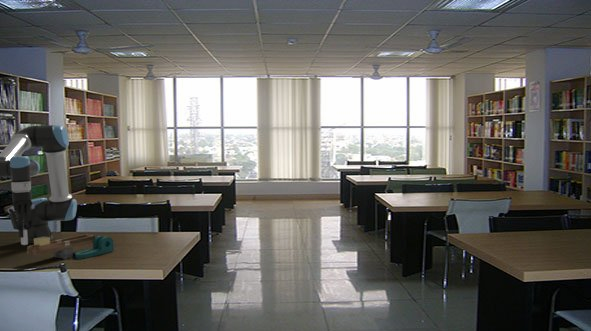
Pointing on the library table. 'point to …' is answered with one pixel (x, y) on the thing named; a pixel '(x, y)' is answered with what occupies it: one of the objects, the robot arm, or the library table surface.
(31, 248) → the brown long open piece
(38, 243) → the block
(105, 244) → the bracket
